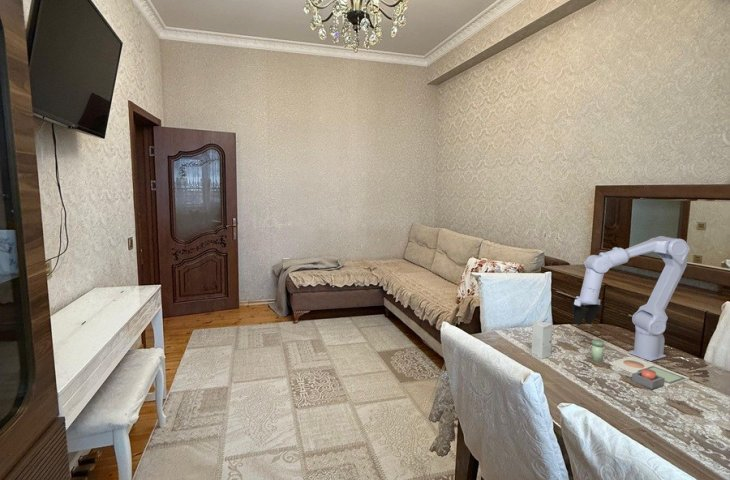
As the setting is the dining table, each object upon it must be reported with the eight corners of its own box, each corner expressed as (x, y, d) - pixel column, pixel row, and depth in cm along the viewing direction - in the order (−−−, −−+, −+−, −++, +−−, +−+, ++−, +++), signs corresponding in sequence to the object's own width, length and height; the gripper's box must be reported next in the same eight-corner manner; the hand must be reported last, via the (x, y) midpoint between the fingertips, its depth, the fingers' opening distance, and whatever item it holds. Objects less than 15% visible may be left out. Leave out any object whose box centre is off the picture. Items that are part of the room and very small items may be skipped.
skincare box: (541, 359, 138) (543, 327, 136) (530, 355, 141) (532, 323, 140) (551, 355, 141) (553, 323, 140) (540, 351, 145) (542, 320, 143)
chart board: (630, 357, 139) (630, 355, 139) (689, 379, 123) (689, 377, 123) (609, 363, 134) (609, 361, 134) (667, 387, 118) (667, 385, 118)
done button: (645, 375, 123) (646, 367, 122) (657, 380, 119) (658, 372, 119) (638, 377, 121) (639, 370, 121) (650, 382, 118) (651, 374, 118)
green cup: (595, 357, 140) (596, 338, 139) (604, 361, 137) (606, 342, 136) (588, 358, 138) (589, 340, 138) (598, 362, 135) (599, 343, 134)
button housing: (643, 377, 124) (643, 370, 124) (663, 385, 119) (664, 378, 119) (631, 381, 122) (632, 373, 122) (652, 389, 116) (653, 382, 116)
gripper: (589, 284, 147) (581, 318, 148) (569, 284, 139) (561, 320, 140) (609, 290, 141) (600, 325, 143) (589, 290, 133) (580, 328, 135)
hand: (582, 323), depth 141 cm, fingers open, 7 cm apart
